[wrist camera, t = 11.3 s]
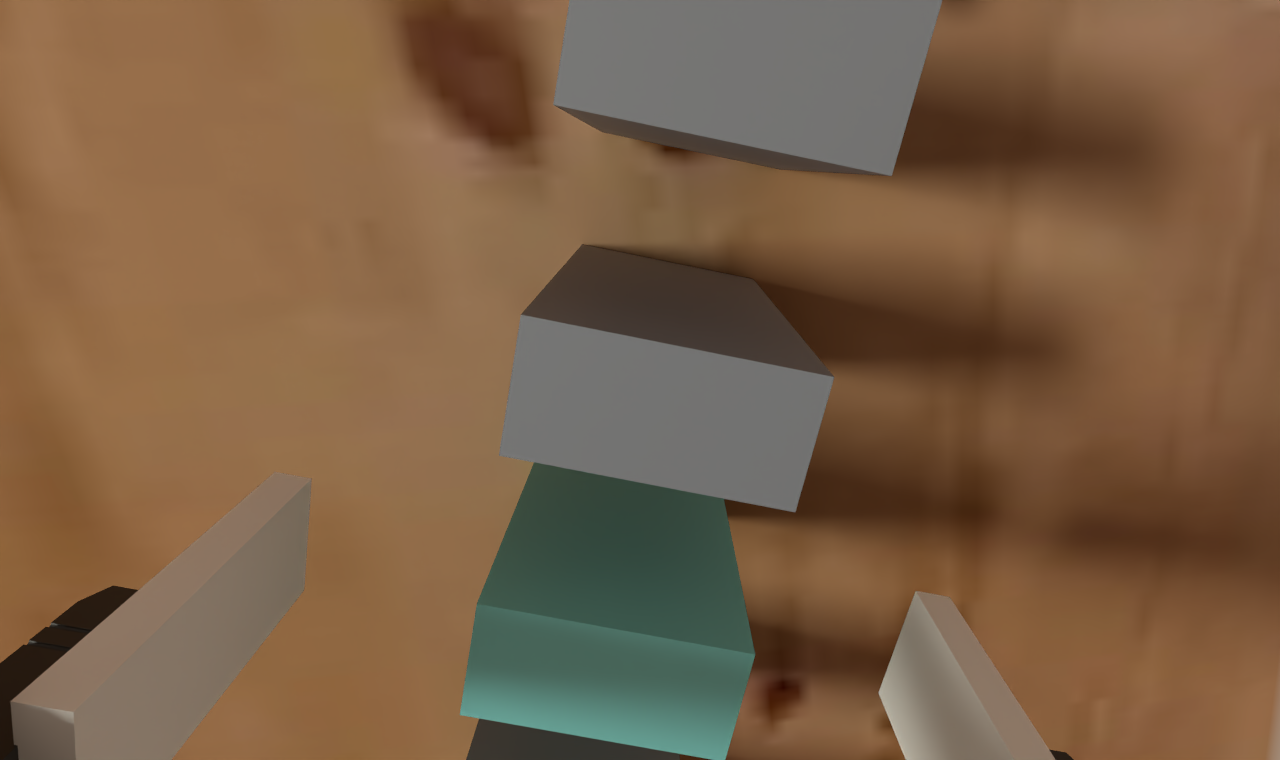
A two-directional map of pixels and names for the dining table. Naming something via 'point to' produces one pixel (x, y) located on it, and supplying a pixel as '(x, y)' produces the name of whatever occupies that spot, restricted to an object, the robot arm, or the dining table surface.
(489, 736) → the domino
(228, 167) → the dining table surface
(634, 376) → the domino
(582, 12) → the domino
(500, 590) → the domino
